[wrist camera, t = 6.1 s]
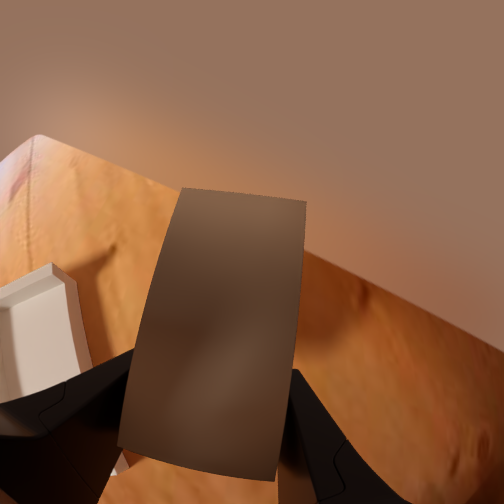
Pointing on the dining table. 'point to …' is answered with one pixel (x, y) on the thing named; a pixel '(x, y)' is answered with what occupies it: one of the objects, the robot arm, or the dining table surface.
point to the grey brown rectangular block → (218, 336)
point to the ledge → (42, 336)
